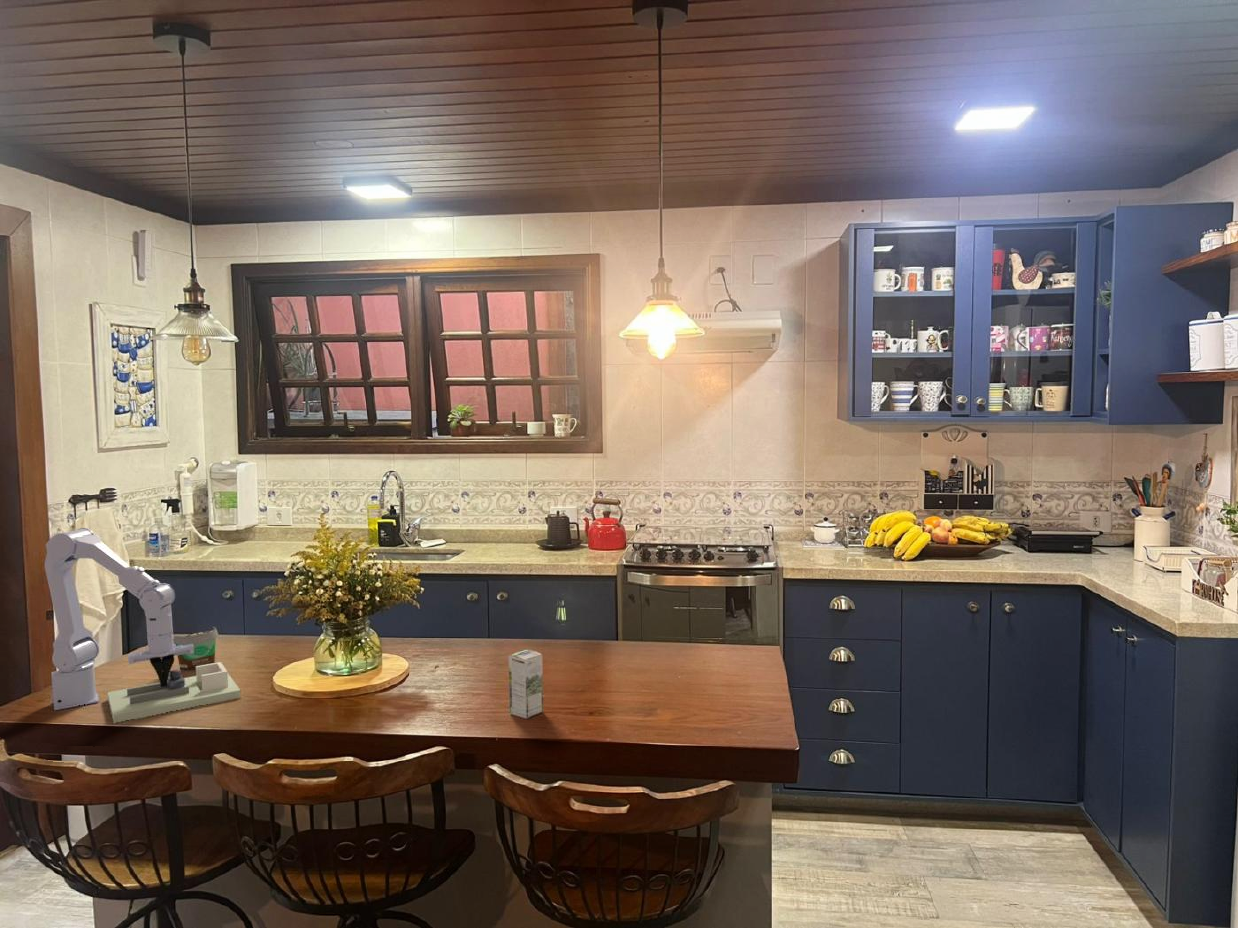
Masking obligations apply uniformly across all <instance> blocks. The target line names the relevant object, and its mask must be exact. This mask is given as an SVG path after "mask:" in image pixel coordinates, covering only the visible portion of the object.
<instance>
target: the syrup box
mask: <svg viewBox="0 0 1238 928" xmlns="http://www.w3.org/2000/svg"><path fill="white" fill-rule="evenodd" d="M543 674H544V673H543V654H542V653H540V652H538V651H535V650H531V649H524V650H522V651H518V652H514V653H513V654H509V655H508V680H509V682H508V683H509V713H510V715H513V716H516V717H518V718H522V719H526V720H527V719H530V718H531V717H534V716H537V715H538V714H541V713H543V712H544V692H543V691H544V688H543V685H544V684H543V680H544V679H543V678H544V677H543Z"/></svg>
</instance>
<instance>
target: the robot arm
mask: <svg viewBox="0 0 1238 928" xmlns="http://www.w3.org/2000/svg"><path fill="white" fill-rule="evenodd" d="M45 548H46V556H45V561H44V571H45V574H46V580H47V583H48V588H49V593H50V597H51V603H52V607H53V611H54V616H55V620H56V625H57V629H58V635H57V636H56V638H55V640H54V642H53V643H52V648H53V653H52V657H51V658H52V663H53V666H54V667H55V668H56V669H58V670H55V671H51V686H52V693H51V694H50V696H51V702H53V710H54V711H57V710H58V711H59V710H63V709H69V708H73V707H74V708H75V707H78V706H79V705H80V706H84V704H85V705H89V704H95V703H99V702H100V699H99V695H98V692H97V691H96V689H97V688H96V679H95V678H96V676H95V663H96V658H97V657H98V656H99V653H100V646H99V643H98V642H97V640H96V639H95V638H94V635H93V631H91V630H90V629H89V628H87V627H85V624H84V619H83V614H82V610H81V609H82V608H81V606H80V600H79V595H78V592H77V588H76V581H75V578H74V572H73V567H74V565H75V564H76V563H77V562H78V561H79V560H80V559H90V560H91V559H92V560H93V561H94V562H96V563H97V564H99V565H100V566H102V567H103V568H104V569H106V570H107V571H109V572H111V573H112V574H114V575H116V577H118V584H119V585H121V586H122V587H123V588H124V589H126V590H127V591H128V592H129V593H131V595H133V596H135V597H136V598H137V599H139V604H140V607H141V608H142V609H143V610H144V615H145V620H146V622H145V623H146V633H147V635H146V636H147V637H146V638H147V650H143V651H139V652H136V653H131V654H127V657H128V661H127V662H128V664H129V665H131V664H133V665H134V664H135V663H139V662H144V661H149V662H150V664H151V665H152V667H153V669H154V671H155V672H156V675H157V677H158V680H159V683H160V686H161V687H165V686H167V681H168V676H170V671H171V670H172V667H173V664H174V663H175V656H178V655H181V654H187V653H189V654H191V653H194V646H193V644H190V645H181V646H176V645H175V644H174V641H173V639H174V629H173V627H174V626H173V615H172V613H173V612H172V604H173V602H174V601H175V599H176V593H175V590H174V588H173V587H172V586H171V584H169V583H164V582H163V583H162V582H160V581H159V580H158V579H155V578H153V577H152V576H150V575H149V574H148V573H147V572H146V571H145V570H146V569H145V568H143V566H140V567H139V566H137V565H132V566H130V565H128V563H126V562H125V561H124V560H123V559H122V558H120V556H119V555H117V554H116V553H115V552H114V551H113V550H112V549H111V548H109V547H108V546H107V545H106V544H105V543H104V542H103V541H102V538H101V536H100V535H98V534H96V533H95V532H94V531H93V530H91V529H90V528H88V527H80V528H78V529H75V530H70V531H67V532H65V531H64V532H58V533H56V534H54V535H53V536H52V537H51V538H50V539H48V541H47V542H46V543H45Z"/></svg>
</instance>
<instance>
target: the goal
mask: <svg viewBox="0 0 1238 928" xmlns="http://www.w3.org/2000/svg"><path fill="white" fill-rule="evenodd" d="M227 672H228V670H227V669H226V668H225V666H224V664H223V663H222V662H221V661H219V662H218V661H217V662H215V663H212V664H206V665H201V666H196V670H195V676H196V678H197V682H201V681H202V689H201V691H208V690H213V689H218V688H223V687H228V674H229V673H228V674H227Z"/></svg>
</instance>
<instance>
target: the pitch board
mask: <svg viewBox="0 0 1238 928" xmlns="http://www.w3.org/2000/svg"><path fill="white" fill-rule="evenodd" d="M227 674H228V687H223V688H218V689H213V690H208V691H202V681H201V682H197V678H196V675H195V676H188V677H184V678H183V677H182V678H183V680H184V687H181V688H176V689H171V690H169V688H168V681H167V686H165V687H161V686H160V682H155V683H151V684H146V685H141V686H140V685H139V686H135V687H134V686H133V687H129V688H123V689H117V690H112V691H108V692H107V702H108V706H109V705H110V706H109V709H110V710H109V711H110V713H111V717H112V722H113V724H116V723H115V722H119V723H122V722H121V721H124V722H126V721H125V720H129V719H134V720H138V718H139V719H142V718H143V719H144V718H148V716H149V717H153V716H157V714H158V715H162V714H161V713H163V714H166V712H168V713H170V712H169V711H173V712H177V711H176V710H178V711H182V710H181V709H183V710H186V709H185V708H188V709H190V707H193V708H196V707H195V706H198V707H200V706H199V705H203V706H207V705H206V704H208V705H212V704H217V703H221V702H227V701H231V700H236V699H241V698H242V694H241V689H240V688H239V686H238V685H237V684H236V682H235V681H234V679H233V678H232V677H231V675H230V674H229V671H227ZM152 715H153V716H152ZM129 721H130V720H129Z"/></svg>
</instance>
